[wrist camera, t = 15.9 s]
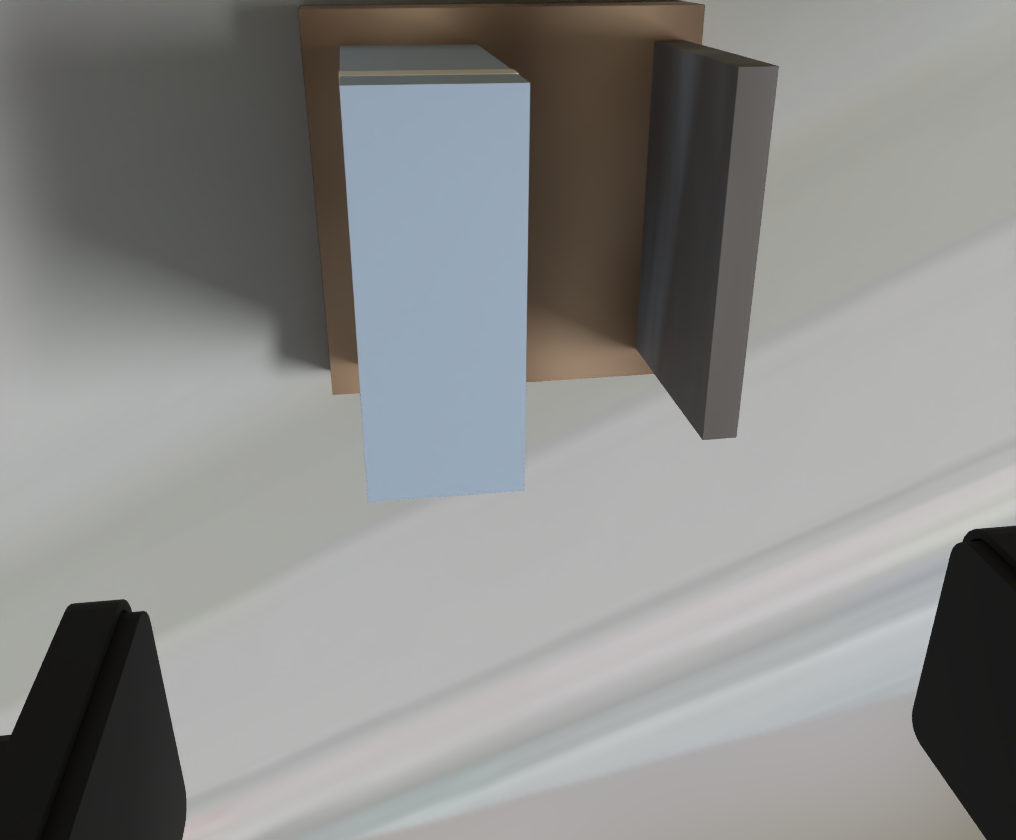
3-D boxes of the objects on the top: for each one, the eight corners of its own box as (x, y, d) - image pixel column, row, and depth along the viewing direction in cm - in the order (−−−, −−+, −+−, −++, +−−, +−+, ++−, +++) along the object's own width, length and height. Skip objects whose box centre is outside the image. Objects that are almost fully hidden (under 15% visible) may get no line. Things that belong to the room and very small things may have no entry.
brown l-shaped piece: (683, 1, 31) (803, 20, 23) (658, 351, 36) (749, 466, 28) (300, 5, 29) (285, 27, 21) (333, 371, 34) (331, 500, 26)
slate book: (477, 43, 29) (531, 81, 21) (480, 358, 33) (525, 491, 25) (339, 44, 28) (338, 84, 20) (360, 365, 32) (367, 502, 24)
